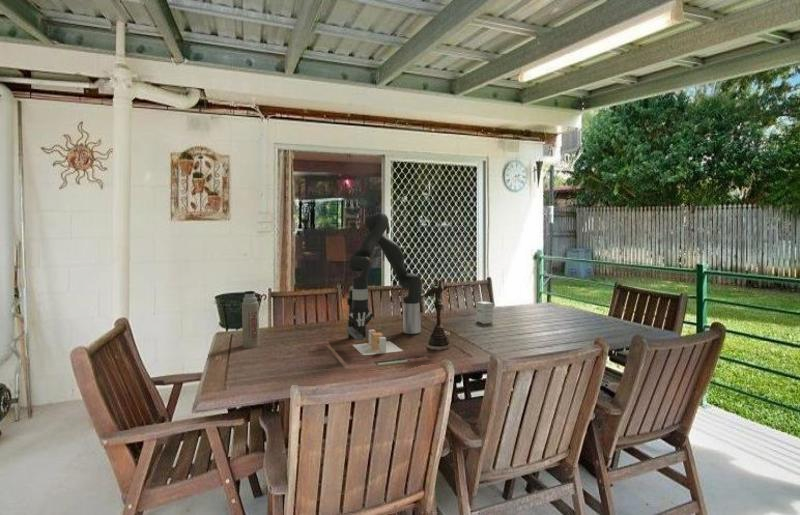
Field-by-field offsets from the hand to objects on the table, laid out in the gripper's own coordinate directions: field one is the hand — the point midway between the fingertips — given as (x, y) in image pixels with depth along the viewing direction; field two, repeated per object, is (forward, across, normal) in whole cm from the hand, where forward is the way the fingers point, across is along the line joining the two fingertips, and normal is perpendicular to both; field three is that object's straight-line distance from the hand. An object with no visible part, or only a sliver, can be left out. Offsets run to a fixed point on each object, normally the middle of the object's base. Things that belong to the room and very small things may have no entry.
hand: (360, 333), depth 222 cm
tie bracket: (+10, -8, 0) cm, 13 cm away
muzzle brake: (+10, -6, -28) cm, 30 cm away
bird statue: (+10, -38, +2) cm, 40 cm away
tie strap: (+1, +3, 0) cm, 3 cm away
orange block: (+8, -8, +1) cm, 12 cm away
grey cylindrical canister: (+10, -92, -35) cm, 98 cm away
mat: (+10, -8, +17) cm, 21 cm away
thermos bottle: (+10, +48, -32) cm, 59 cm away
